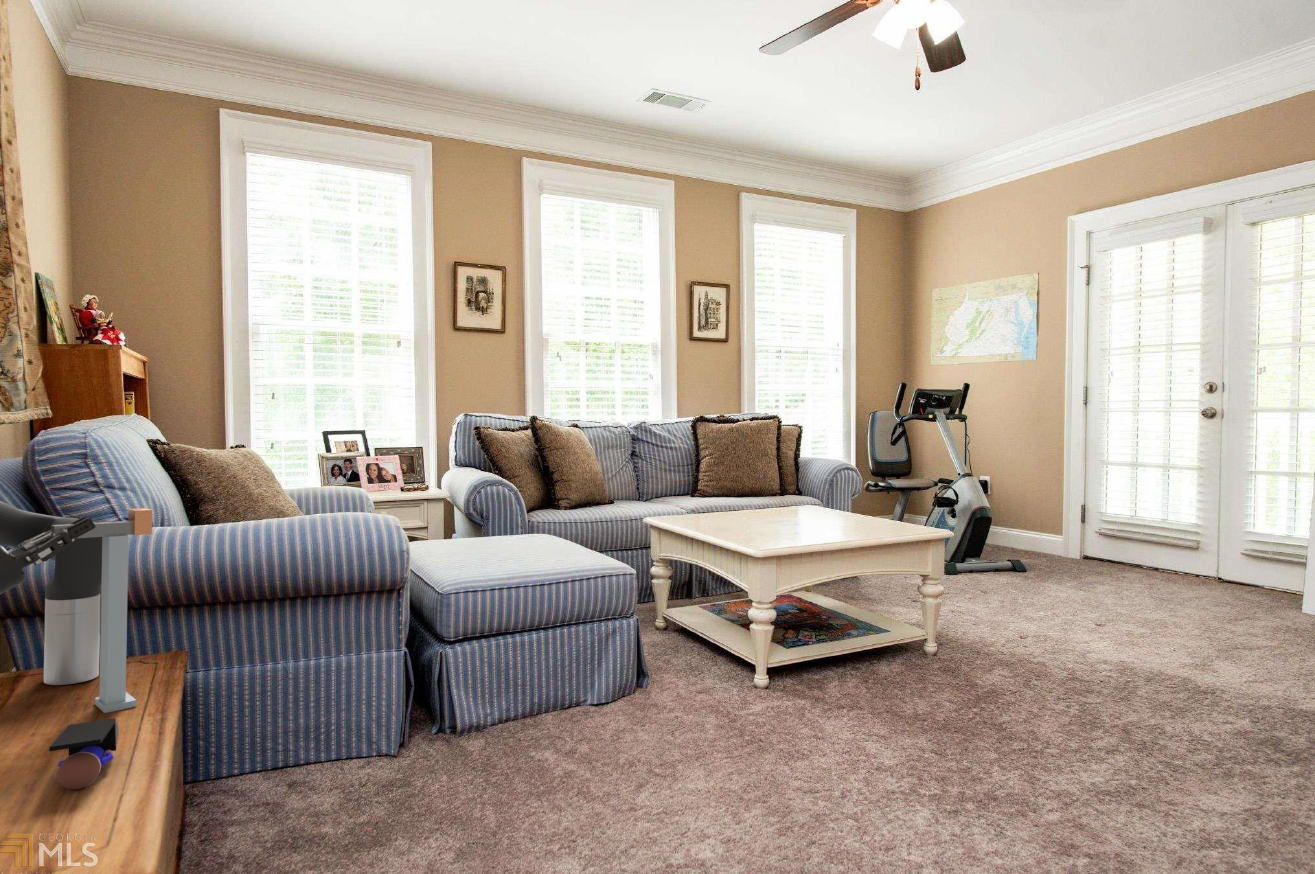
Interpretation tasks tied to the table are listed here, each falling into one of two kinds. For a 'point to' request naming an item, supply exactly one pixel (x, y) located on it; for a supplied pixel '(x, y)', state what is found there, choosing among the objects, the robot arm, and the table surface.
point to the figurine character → (85, 751)
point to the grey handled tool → (118, 525)
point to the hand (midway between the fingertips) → (90, 521)
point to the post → (114, 626)
